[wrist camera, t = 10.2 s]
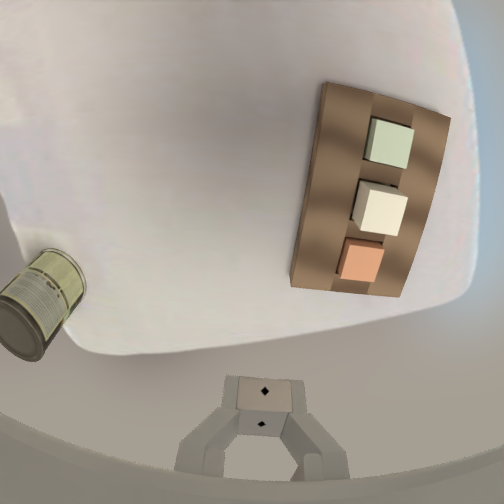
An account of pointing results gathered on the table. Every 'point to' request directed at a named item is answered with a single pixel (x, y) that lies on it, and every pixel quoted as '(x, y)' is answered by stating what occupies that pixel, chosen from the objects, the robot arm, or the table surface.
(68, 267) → the coffee can
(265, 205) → the table surface
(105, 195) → the table surface
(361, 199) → the cream cube
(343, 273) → the key terracotta
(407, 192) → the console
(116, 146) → the table surface
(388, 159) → the key sage
